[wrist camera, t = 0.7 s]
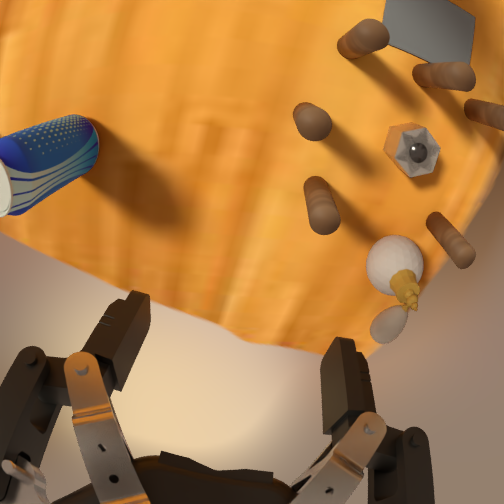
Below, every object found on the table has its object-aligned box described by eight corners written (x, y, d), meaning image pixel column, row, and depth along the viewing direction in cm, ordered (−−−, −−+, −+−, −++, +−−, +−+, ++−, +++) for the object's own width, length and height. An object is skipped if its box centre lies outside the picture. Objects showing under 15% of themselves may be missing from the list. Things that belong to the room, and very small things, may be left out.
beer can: (111, 122, 31) (19, 158, 17) (97, 180, 35) (18, 238, 22) (64, 106, 30) (-28, 136, 16) (54, 161, 34) (-27, 208, 20)
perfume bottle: (419, 229, 34) (458, 284, 24) (398, 288, 39) (422, 349, 29) (368, 221, 35) (398, 279, 25) (351, 284, 40) (367, 350, 30)
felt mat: (390, -27, 18) (390, -27, 18) (474, 17, 18) (475, 17, 18) (378, 40, 23) (379, 40, 23) (465, 81, 23) (466, 81, 23)
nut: (392, 115, 28) (406, 119, 24) (428, 129, 28) (444, 136, 24) (379, 161, 31) (390, 171, 27) (414, 173, 31) (428, 184, 27)
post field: (311, 25, 24) (321, 3, 16) (483, 97, 24) (529, 108, 16) (275, 190, 34) (273, 224, 26) (438, 233, 34) (468, 270, 27)
